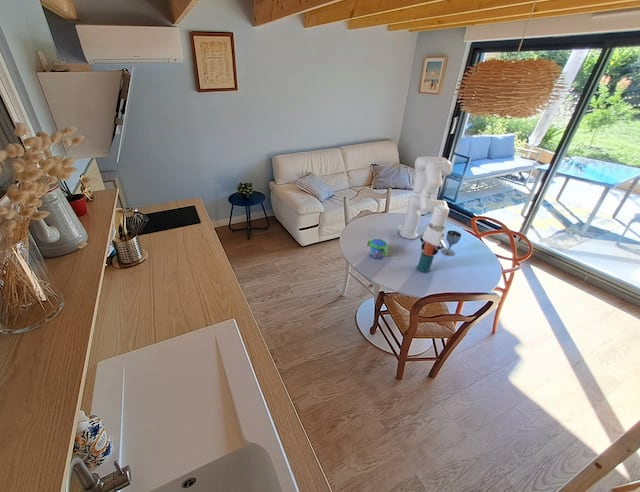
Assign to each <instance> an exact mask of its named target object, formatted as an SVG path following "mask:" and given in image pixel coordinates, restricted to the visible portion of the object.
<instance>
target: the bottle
mask: <svg viewBox="0 0 640 492" xmlns="http://www.w3.org/2000/svg"><path fill="white" fill-rule="evenodd" d="M434 258H435V255H433V256H427V255H425V254H423V250H421V254H420V257H419V261H418V264H417V268H416V269H417V270H418V271H419V272H421V273H425V274H426V273H429V272H430V270H431V267H432V265H433V260H434Z"/></svg>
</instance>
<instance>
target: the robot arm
mask: <svg viewBox="0 0 640 492" xmlns="http://www.w3.org/2000/svg"><path fill="white" fill-rule="evenodd" d="M414 170H415V175H414V180H413V185H412V192H413V194H416V195H410V196H409V197H408V199H407V209H406V213H405V217H404V221H403V222H404V223H403V225H401V224H398V227H397V228H398V229H399V230H400V231H399V235H400V237H403V238H404V239H409V240H414V239H417V238H419V239H420V242H421V246H420V248H421V249H420V250H421V251H423V248H424V244H425V242H428V243H431V244H433V245H435V250H434V252H433V255H434V256H436V255H438V252H439V250H443V249H445V248H446V247H447V245H446V244H445V242H444V238H445V235H446V234H445V231H446V230H447V227H446V222H447V220H448V216H449V213H450V208H449V205H448V203H447V201H446V200H443V199H438V194H439V189H440V187H441V188H442V186H443V185H444V184H443V183H444V182H443V176H450V175H451V174H452V173H453V164H452V162H451V161H450V160H449V159H447V158H446V157H443V156H418V157H417V158H416V159H415V162H414ZM420 210H421V212H423V213H432V214H431V217H430V220H429V224H428V225H427V226H426V228H425V230H424V233H421V234H418V232H417V231H418V229H419V228H418V227H419V224H420V220H421V217H422V216H421V212H420Z"/></svg>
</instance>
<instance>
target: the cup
mask: <svg viewBox="0 0 640 492" xmlns="http://www.w3.org/2000/svg"><path fill="white" fill-rule="evenodd" d="M434 250H435V245H433V244H431V243H428V242H425V244H424V248H423V250H422V251H423V254H425V255H427V256H433V252H434Z"/></svg>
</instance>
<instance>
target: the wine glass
mask: <svg viewBox="0 0 640 492" xmlns="http://www.w3.org/2000/svg"><path fill="white" fill-rule="evenodd" d="M461 237H462V234H461V233H460V232H459V231H456V230H448V231H447V232H446V237H445V240H446V242H447V244H448V249H447V248H446V249H445V248H443V249H441V252H442V253H443V254H444V255H446V256H451V257H452V256H454V252H453V251H452V250H450V249H451V247H452V246H454V245H456V244H458V243H459V241H460V240H461Z"/></svg>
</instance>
